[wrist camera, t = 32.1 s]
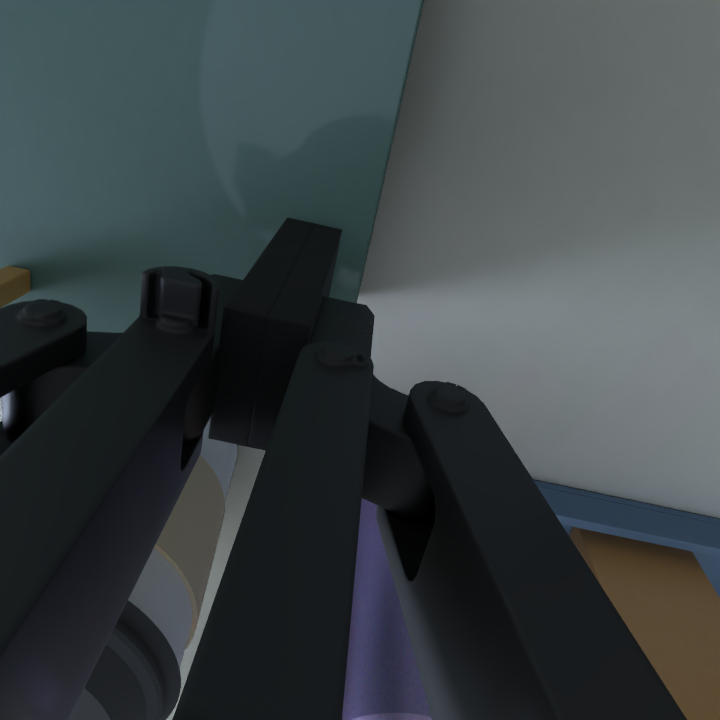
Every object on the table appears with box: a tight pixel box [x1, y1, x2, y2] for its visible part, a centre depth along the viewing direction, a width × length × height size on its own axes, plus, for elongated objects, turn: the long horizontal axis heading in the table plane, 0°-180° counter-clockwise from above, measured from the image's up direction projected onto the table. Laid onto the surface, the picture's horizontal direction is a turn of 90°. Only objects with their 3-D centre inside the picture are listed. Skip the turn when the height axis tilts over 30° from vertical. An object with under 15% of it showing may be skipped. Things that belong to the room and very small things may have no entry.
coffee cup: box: [68, 417, 237, 720], centre depth 24 cm, size 9×9×15 cm
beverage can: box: [342, 498, 432, 720], centre depth 25 cm, size 6×6×15 cm
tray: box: [533, 480, 720, 598], centre depth 33 cm, size 15×13×2 cm
